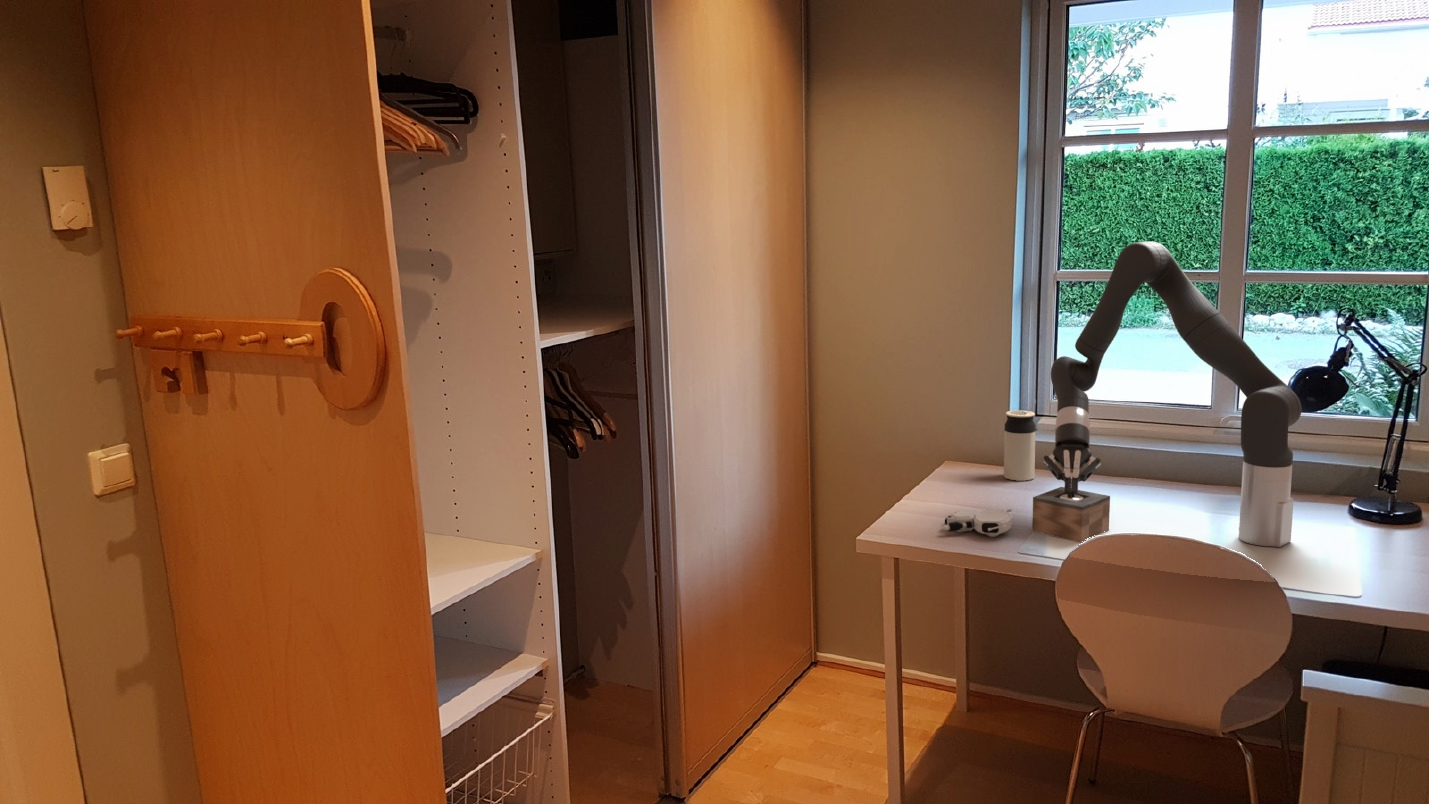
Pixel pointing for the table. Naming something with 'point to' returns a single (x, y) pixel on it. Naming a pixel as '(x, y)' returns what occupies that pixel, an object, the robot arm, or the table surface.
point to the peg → (1075, 498)
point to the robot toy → (980, 522)
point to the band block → (1071, 515)
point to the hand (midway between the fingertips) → (1071, 494)
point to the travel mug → (1019, 445)
